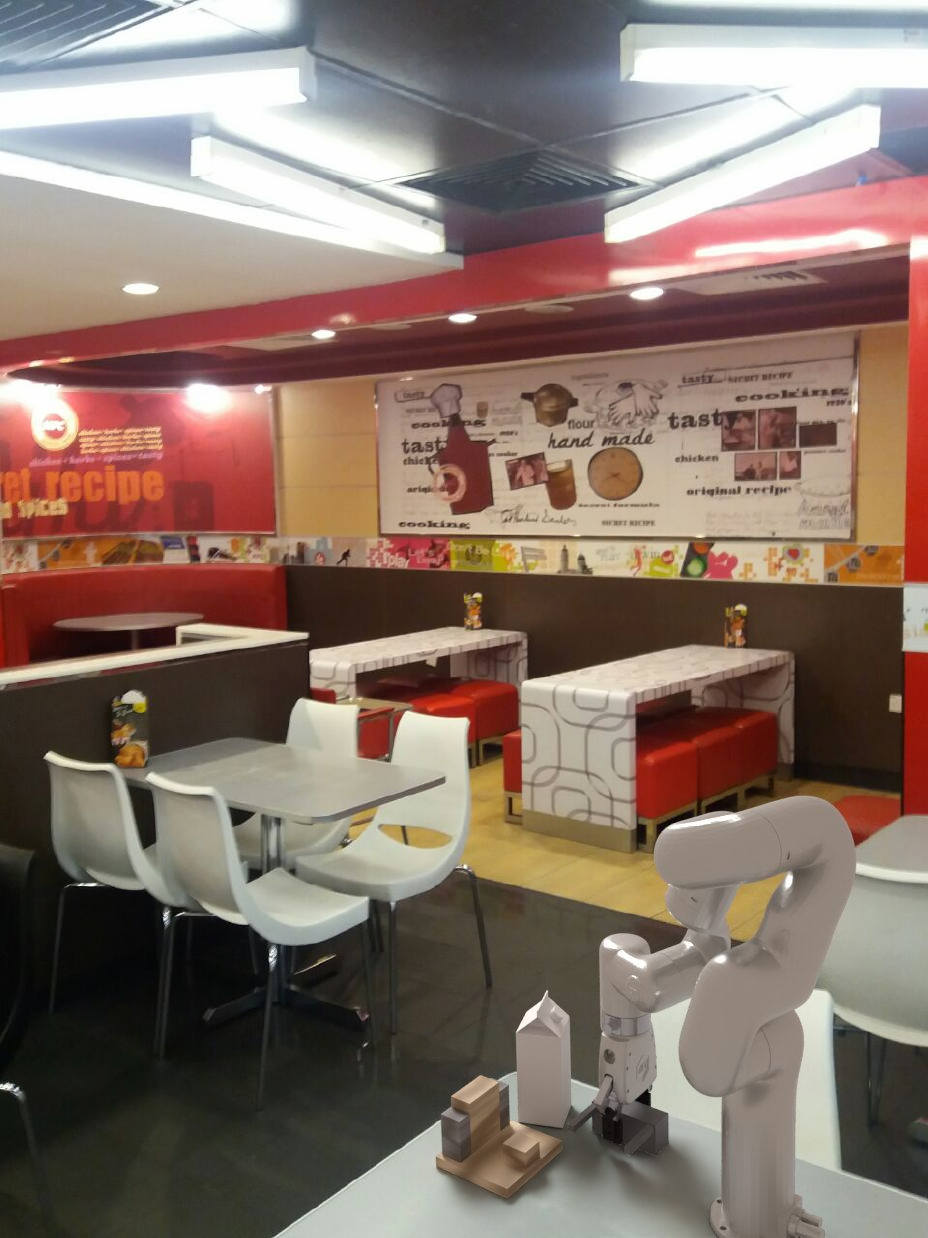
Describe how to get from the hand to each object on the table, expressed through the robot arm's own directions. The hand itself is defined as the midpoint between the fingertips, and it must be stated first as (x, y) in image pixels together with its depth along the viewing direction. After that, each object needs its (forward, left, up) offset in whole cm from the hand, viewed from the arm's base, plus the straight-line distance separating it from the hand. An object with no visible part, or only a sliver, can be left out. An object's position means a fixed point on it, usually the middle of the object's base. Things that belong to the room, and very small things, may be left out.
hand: (627, 1127), depth 171 cm
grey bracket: (0, +3, -2) cm, 3 cm away
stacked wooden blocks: (+13, +15, -2) cm, 20 cm away
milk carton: (+14, +2, -2) cm, 14 cm away
